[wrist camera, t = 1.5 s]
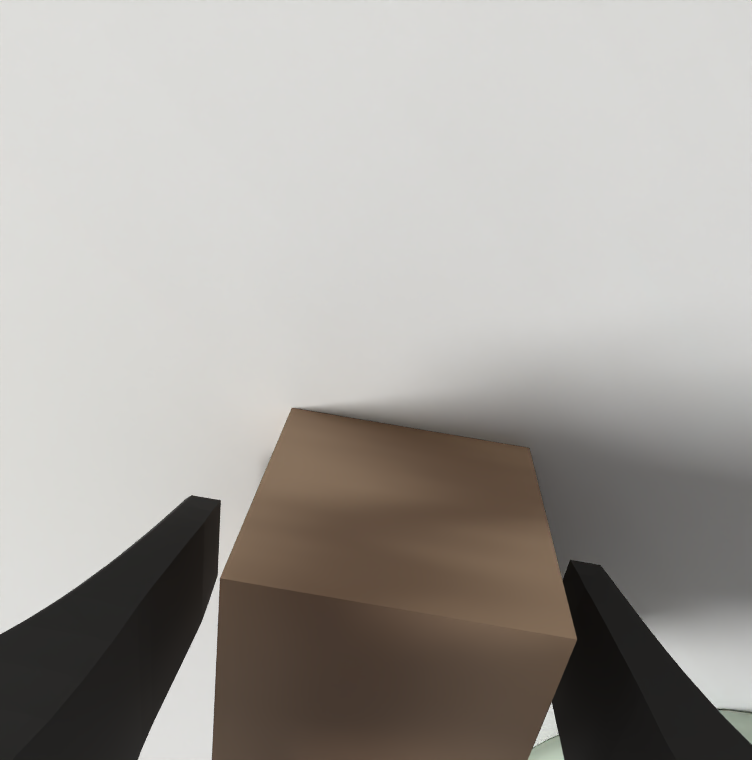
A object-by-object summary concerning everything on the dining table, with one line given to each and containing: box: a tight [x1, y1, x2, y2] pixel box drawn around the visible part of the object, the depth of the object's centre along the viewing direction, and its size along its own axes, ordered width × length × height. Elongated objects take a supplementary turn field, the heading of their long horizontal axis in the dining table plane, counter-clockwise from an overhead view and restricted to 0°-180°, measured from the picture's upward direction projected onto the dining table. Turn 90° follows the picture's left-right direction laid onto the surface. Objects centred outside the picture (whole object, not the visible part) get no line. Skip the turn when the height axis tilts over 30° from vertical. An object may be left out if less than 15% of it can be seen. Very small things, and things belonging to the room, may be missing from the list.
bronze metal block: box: [212, 408, 577, 760], centre depth 12 cm, size 5×5×5 cm
